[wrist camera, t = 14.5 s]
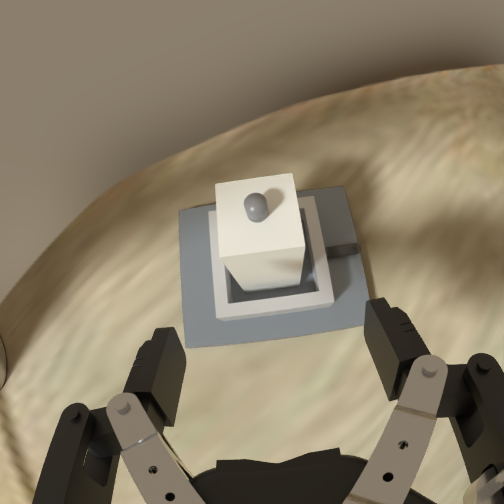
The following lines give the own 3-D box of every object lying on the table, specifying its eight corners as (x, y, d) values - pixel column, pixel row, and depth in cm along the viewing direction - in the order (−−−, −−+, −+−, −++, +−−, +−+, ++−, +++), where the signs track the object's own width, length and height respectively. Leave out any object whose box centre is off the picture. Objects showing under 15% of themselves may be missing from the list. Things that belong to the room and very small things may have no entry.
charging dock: (189, 348, 26) (175, 347, 23) (182, 215, 30) (170, 198, 27) (370, 324, 25) (382, 319, 21) (341, 192, 29) (347, 171, 26)
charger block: (245, 292, 26) (214, 250, 15) (240, 241, 27) (210, 173, 17) (299, 285, 25) (306, 238, 15) (292, 235, 27) (291, 161, 16)
